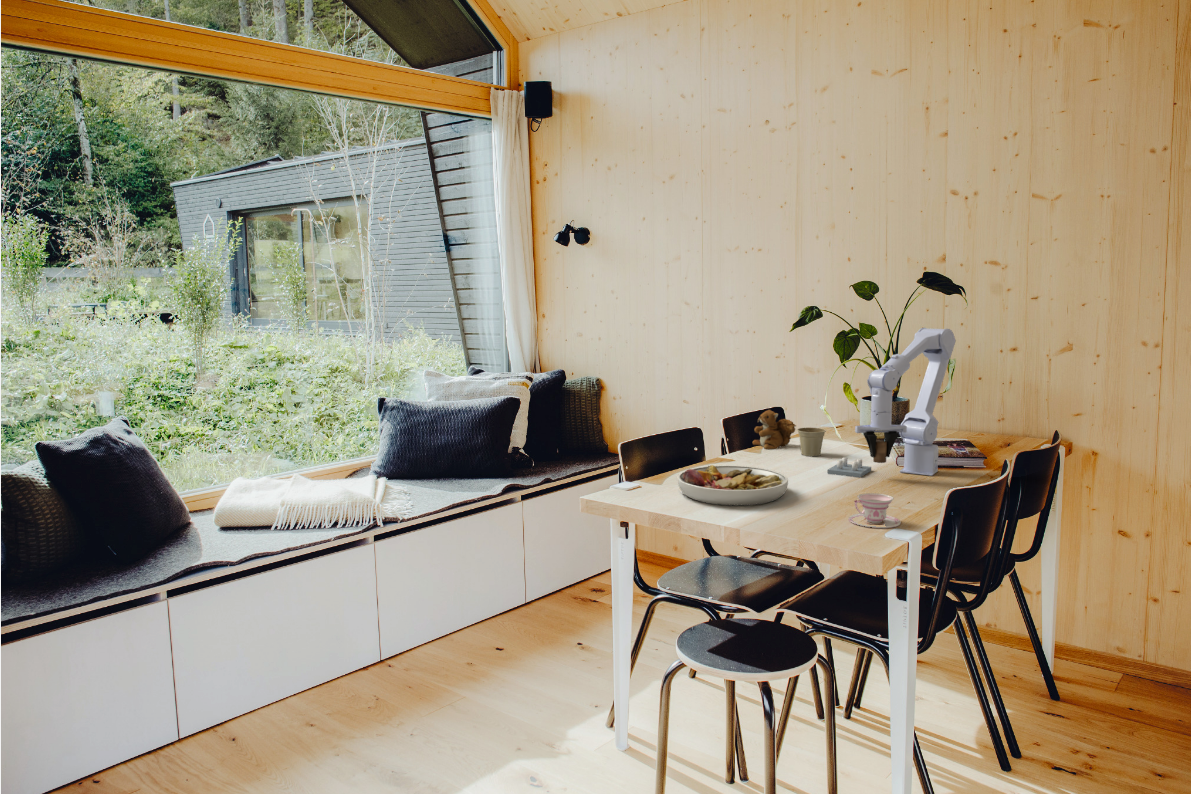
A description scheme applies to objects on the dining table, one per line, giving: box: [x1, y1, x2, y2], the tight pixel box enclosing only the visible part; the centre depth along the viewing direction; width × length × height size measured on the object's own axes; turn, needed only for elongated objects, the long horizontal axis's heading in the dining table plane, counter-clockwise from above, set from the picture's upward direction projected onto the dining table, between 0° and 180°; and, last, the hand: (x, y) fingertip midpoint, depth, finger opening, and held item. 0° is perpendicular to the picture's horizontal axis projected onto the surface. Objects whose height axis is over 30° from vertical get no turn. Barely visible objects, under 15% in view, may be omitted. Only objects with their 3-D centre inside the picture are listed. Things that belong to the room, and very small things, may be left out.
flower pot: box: [796, 426, 827, 457], centre depth 277 cm, size 9×9×9 cm
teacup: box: [848, 492, 902, 529], centre depth 199 cm, size 12×12×6 cm
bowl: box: [677, 464, 789, 506], centre depth 227 cm, size 30×30×8 cm
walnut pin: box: [872, 439, 887, 464], centre depth 242 cm, size 4×4×6 cm
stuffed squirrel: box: [752, 409, 797, 450], centre depth 293 cm, size 10×14×13 cm
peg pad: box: [827, 457, 872, 478], centre depth 252 cm, size 10×11×4 cm
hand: (879, 456), depth 242 cm, fingers closed on walnut pin, 4 cm apart
